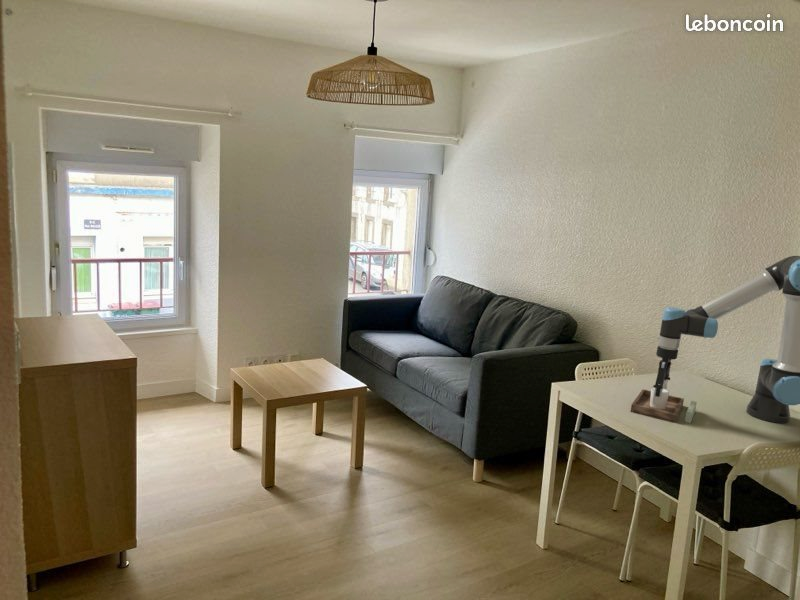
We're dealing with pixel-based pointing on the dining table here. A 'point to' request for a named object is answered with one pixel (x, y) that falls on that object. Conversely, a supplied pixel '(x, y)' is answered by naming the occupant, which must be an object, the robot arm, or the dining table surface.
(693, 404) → the rail
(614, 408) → the dining table surface
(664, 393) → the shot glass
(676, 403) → the tray
